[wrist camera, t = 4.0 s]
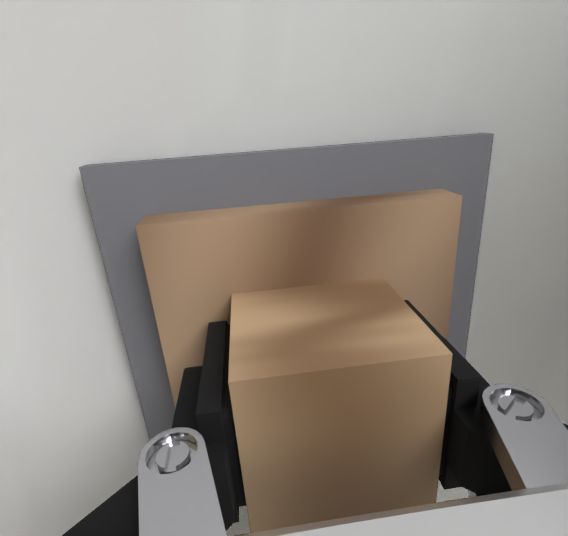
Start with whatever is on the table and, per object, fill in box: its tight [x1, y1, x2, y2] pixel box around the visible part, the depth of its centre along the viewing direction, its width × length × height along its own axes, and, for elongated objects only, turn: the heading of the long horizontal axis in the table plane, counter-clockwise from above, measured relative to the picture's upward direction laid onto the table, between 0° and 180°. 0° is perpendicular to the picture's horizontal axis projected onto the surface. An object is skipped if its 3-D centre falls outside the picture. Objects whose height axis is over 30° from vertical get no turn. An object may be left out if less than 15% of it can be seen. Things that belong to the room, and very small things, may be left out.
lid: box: [136, 189, 462, 533], centre depth 11 cm, size 9×9×5 cm
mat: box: [79, 133, 494, 440], centre depth 13 cm, size 12×12×1 cm
